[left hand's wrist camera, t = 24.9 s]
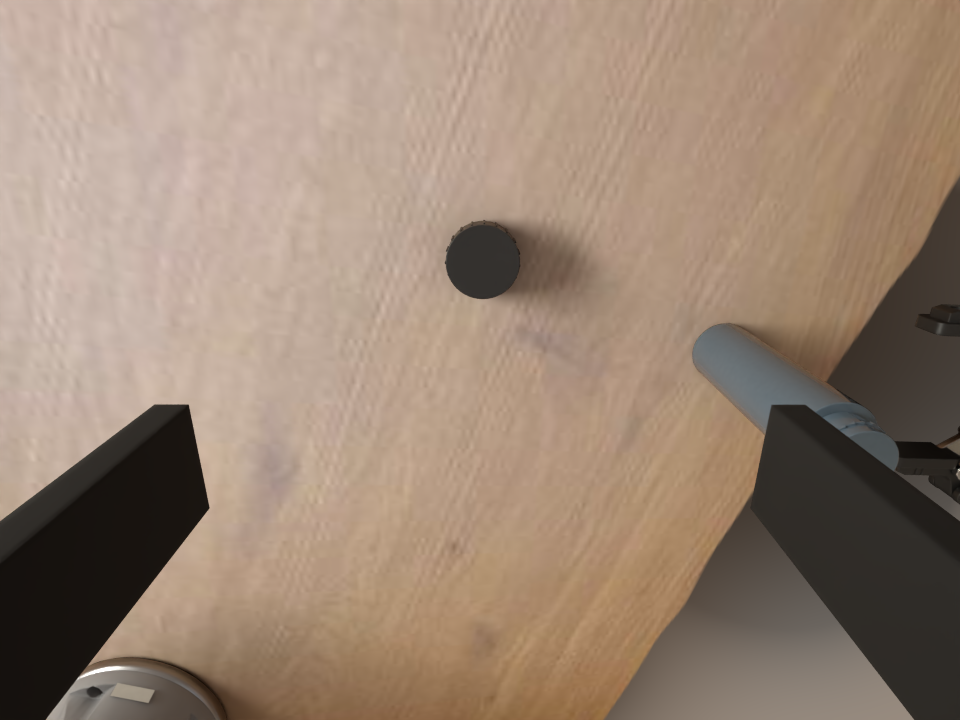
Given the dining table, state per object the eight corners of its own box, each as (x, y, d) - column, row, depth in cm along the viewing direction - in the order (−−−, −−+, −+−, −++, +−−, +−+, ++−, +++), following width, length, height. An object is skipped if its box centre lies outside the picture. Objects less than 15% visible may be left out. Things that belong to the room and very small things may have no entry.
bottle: (694, 324, 39) (823, 424, 24) (754, 321, 39) (919, 419, 24) (689, 379, 40) (808, 504, 26) (747, 377, 40) (899, 500, 26)
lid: (522, 287, 38) (524, 295, 36) (452, 296, 38) (450, 304, 36) (514, 215, 36) (517, 219, 34) (441, 225, 36) (439, 229, 34)
